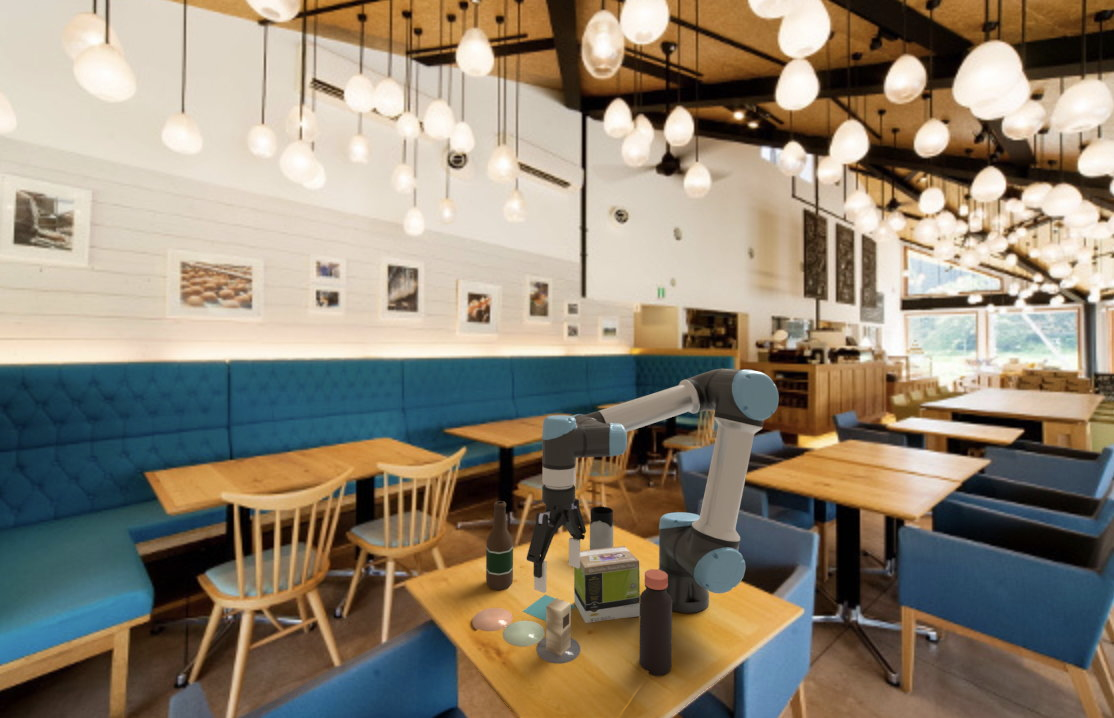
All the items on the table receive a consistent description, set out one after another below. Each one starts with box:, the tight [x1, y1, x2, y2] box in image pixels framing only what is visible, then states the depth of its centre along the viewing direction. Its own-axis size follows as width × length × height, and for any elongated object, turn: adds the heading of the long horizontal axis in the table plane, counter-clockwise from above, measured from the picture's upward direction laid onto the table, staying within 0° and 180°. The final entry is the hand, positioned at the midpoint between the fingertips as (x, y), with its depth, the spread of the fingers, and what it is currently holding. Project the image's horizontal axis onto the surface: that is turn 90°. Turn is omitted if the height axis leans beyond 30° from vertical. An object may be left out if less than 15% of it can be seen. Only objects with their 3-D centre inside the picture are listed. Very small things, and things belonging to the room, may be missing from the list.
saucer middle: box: [502, 620, 546, 647], centre depth 110 cm, size 10×10×1 cm
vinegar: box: [638, 568, 673, 677], centre depth 99 cm, size 7×7×20 cm
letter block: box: [545, 597, 572, 656], centre depth 104 cm, size 4×4×10 cm
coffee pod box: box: [573, 545, 641, 624], centre depth 121 cm, size 15×10×15 cm, turn 104°
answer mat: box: [522, 594, 576, 622], centre depth 120 cm, size 10×10×1 cm
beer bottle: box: [485, 500, 514, 591], centre depth 134 cm, size 8×8×24 cm
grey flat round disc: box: [535, 636, 581, 664], centre depth 104 cm, size 10×10×1 cm
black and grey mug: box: [589, 505, 614, 550], centre depth 157 cm, size 9×14×15 cm, turn 164°
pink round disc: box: [471, 607, 514, 632], centre depth 116 cm, size 10×10×1 cm
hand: (558, 577), depth 104 cm, fingers open, 13 cm apart
